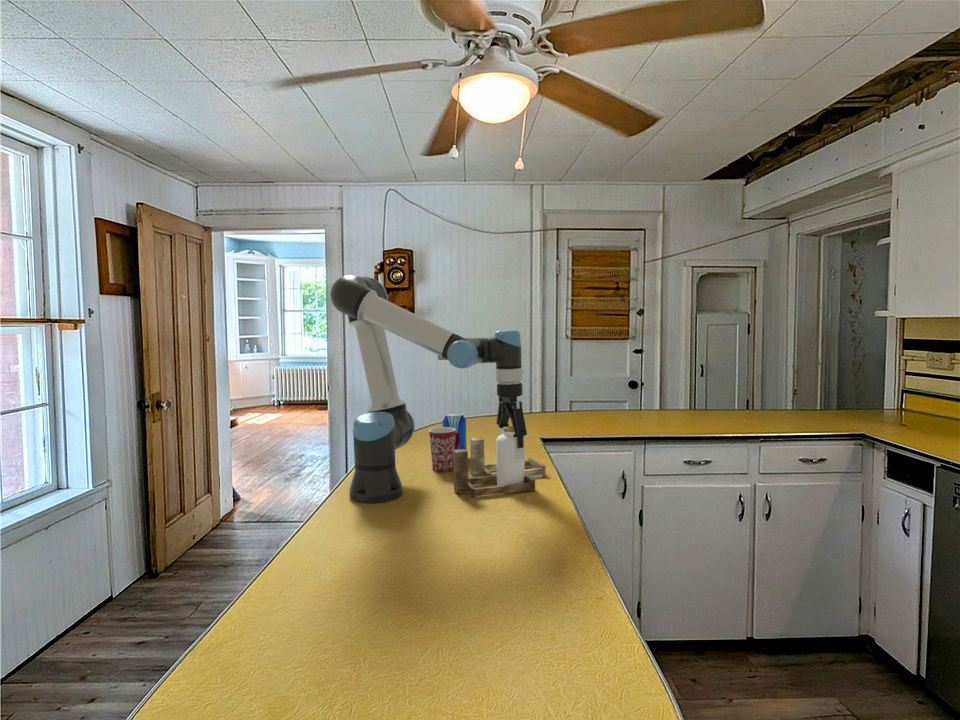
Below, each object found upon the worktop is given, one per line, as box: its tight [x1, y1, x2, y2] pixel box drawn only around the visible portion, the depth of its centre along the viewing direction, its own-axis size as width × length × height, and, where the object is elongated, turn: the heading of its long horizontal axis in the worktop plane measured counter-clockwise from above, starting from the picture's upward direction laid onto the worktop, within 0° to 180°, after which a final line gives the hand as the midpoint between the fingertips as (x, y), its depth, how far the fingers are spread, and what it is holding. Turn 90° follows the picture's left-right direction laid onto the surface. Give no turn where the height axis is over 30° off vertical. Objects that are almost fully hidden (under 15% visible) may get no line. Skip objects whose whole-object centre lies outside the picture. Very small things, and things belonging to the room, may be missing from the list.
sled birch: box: [469, 437, 547, 477], centre depth 183 cm, size 22×12×12 cm, turn 106°
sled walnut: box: [453, 449, 536, 498], centre depth 168 cm, size 22×12×12 cm, turn 106°
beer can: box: [442, 412, 468, 451], centre depth 206 cm, size 8×8×16 cm
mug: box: [428, 426, 460, 473], centre depth 192 cm, size 13×9×14 cm
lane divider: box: [530, 474, 544, 479], centre depth 177 cm, size 16×1×1 cm, turn 106°
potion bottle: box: [495, 425, 526, 486], centre depth 169 cm, size 8×8×18 cm
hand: (511, 453), depth 169 cm, fingers open, 13 cm apart
